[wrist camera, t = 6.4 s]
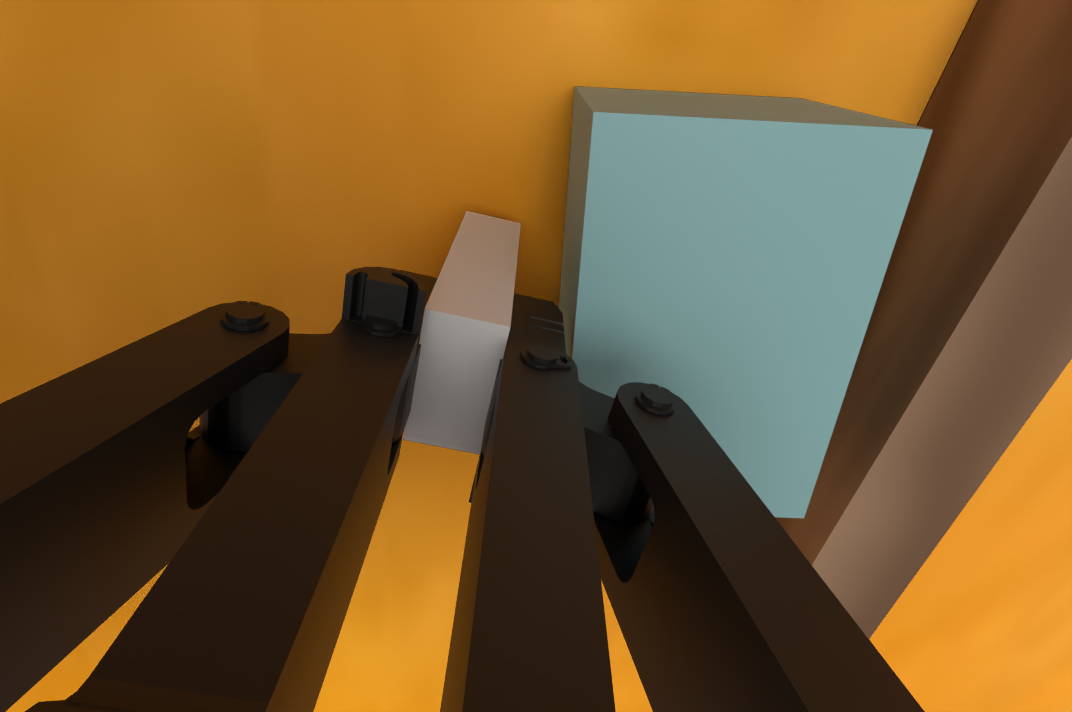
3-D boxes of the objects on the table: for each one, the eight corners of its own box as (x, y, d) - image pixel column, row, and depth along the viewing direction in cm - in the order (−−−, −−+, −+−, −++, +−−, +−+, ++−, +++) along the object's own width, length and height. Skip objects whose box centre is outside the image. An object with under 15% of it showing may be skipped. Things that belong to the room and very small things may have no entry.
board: (719, 528, 23) (763, 645, 19) (986, -15, 15) (1176, -36, 10) (793, 541, 23) (853, 660, 19) (1094, 16, 15) (1324, 9, 11)
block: (553, 383, 20) (559, 509, 15) (574, 86, 16) (593, 111, 11) (733, 391, 20) (804, 518, 15) (802, 98, 16) (932, 130, 11)
